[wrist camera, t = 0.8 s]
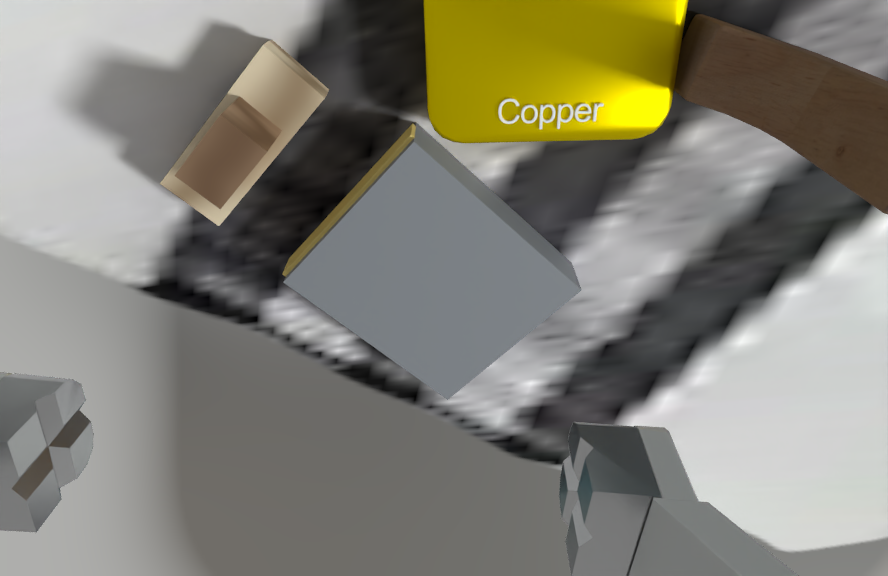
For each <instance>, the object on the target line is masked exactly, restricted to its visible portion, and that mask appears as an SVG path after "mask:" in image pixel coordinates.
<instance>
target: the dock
mask: <svg viewBox="0 0 888 576" xmlns="http://www.w3.org/2000/svg"><path fill="white" fill-rule="evenodd" d="M282 275H284V276H285V279H284V281H283V283H285V284H286V285H288V286H289V287H290V288H292V289H293V290H295V291H296V292H297V293H299V294H300V295H302V296H303V297H304V298H306V299H307V300H309V301H310V302H311V303H313V304H314V305H316V306H317V307H318V308H320V309H321V310H323V311H324V312H325V313H327V314H328V315H330V316H331V317H332V318H334V319H335V320H337V321H338V322H339V323H341V324H342V325H344V326H345V327H346V328H348V329H349V330H351V331H352V332H353V333H355V334H356V335H358V336H359V337H360V338H362V339H363V340H365V341H366V342H367V343H369V344H370V345H372V346H373V347H374V348H376V349H377V350H379V351H380V352H381V353H383V354H384V355H386V356H387V357H388V358H390V359H391V360H393V361H394V362H395V363H397V364H398V365H400V366H401V367H402V368H404V369H405V370H407V371H408V372H410V373H411V374H412V375H414V376H415V377H417V378H418V379H419V380H421V381H422V382H424V383H425V384H426V385H428V386H429V387H431V388H432V389H433V390H435V391H436V392H438V393H439V394H440V395H442V396H443V397H445V398H446V399H447V400H448V399H449V398H450V397H452V396H453V395H454V394H455V393H456V392H458V391H459V390H460V389H461V388H463V387H464V386H465V385H466V384H467V383H469V382H470V381H471V380H472V379H474V378H475V377H476V376H477V375H478V374H480V373H481V372H482V371H483V370H485V369H486V368H487V367H488V366H489V365H491V364H492V363H493V362H494V361H496V360H497V359H498V358H499V357H500V356H502V355H503V354H504V353H505V352H507V351H508V350H509V349H510V348H511V347H513V346H514V345H515V344H516V343H518V342H519V341H520V340H521V339H522V338H524V337H525V336H526V335H527V334H529V333H530V332H531V331H532V330H533V329H535V328H536V327H537V326H538V325H540V324H541V323H542V322H543V321H544V320H546V319H547V318H548V317H549V316H551V315H552V314H553V313H554V312H555V311H557V310H558V309H559V308H560V307H562V306H563V305H564V304H565V303H567V302H568V301H569V300H570V299H571V298H573V297H574V296H575V295H576V294H578V293H579V292H580V291H581V287H580V285H579V282H578V279H577V276H576V273H575V271H574V268H573V265H572V263H571V262H570V261H569V260H568V259H567V258H566V257H564V256H563V255H562V254H561V253H560V252H559V251H558V250H557V249H556V248H554V247H553V246H552V245H551V244H550V243H549V242H548V241H547V240H546V239H545V238H543V237H542V236H541V235H540V234H539V233H538V232H537V231H536V230H535V229H533V228H532V227H531V226H530V225H529V224H528V223H527V222H526V221H525V220H524V219H522V218H521V217H520V216H519V215H518V214H517V213H516V212H515V211H514V210H512V209H511V208H510V207H509V206H508V205H507V204H506V203H505V202H504V201H502V200H501V199H500V198H499V197H498V196H497V195H496V194H495V193H494V192H493V191H491V190H490V189H489V188H488V187H487V186H486V185H485V184H484V183H483V182H481V181H480V180H479V179H478V178H477V177H476V176H475V175H474V174H473V173H471V172H470V171H469V170H468V169H467V168H466V167H465V166H464V165H463V164H462V163H460V162H459V161H458V160H457V159H456V158H455V157H454V156H453V155H452V154H450V153H449V152H448V151H447V150H446V149H445V148H444V147H443V146H442V145H440V144H439V143H438V142H437V141H436V140H435V139H434V138H433V137H432V136H431V135H429V134H428V133H427V132H426V131H425V130H424V129H423V128H422V127H421V126H419V125H418V124H417V123H416V124H415V125H414V124H413V123H412V124H411V126H410V127H409V128H408V129H407V130H406V131H405V132H404V133H403V134H402V135H401V136H400V138H399V139H398V140H397V141H396V142H395V143H394V144H393V145H392V146H391V147H390V148H389V150H388V151H387V152H386V153H385V154H384V155H383V156H382V157H381V158H380V159H379V161H378V162H377V163H376V164H375V165H374V166H373V167H372V168H371V169H370V170H369V171H368V173H367V174H366V175H365V176H364V177H363V178H362V179H361V180H360V181H359V182H358V183H357V185H356V186H355V187H354V188H353V189H352V190H351V191H350V192H349V193H348V194H347V196H346V197H345V198H344V199H343V200H342V201H341V202H340V203H339V204H338V205H337V206H336V208H335V209H334V210H333V211H332V212H331V213H330V214H329V215H328V216H327V217H326V218H325V220H324V221H323V222H322V223H321V224H320V225H319V226H318V227H317V228H316V229H315V230H314V232H313V233H312V234H311V235H310V236H309V237H308V238H307V239H306V240H305V241H304V243H303V244H302V245H301V246H300V247H299V248H298V249H297V250H296V251H295V252H294V253H293V255H292V256H291V257H290V258H289V260H288V262H287V264H286V266H285V269H284V271H283V273H282Z"/></svg>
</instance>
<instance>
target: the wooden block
mask: <svg viewBox="0 0 888 576" xmlns="http://www.w3.org/2000/svg"><path fill="white" fill-rule="evenodd" d="M674 90H675V91H676V92H677V93H678V94H680V95H681V96H682V97H683V98H685V99H686V100H687V101H690V102H693V103H696V104H698V105H701V106H704V107H707V108H710V109H713V110H716V111H719V112H722V113H724V114H727V115H729V116H732V117H734V118H736V119H738V120H741V121H743V122H745V123H747V124H750V125H752V126H754V127H756V128H759V129H761V130H762V131H764V132H766V133H768V134H769V135H771V136H773V137H775V138H776V139H778V140H780V141H782V142H783V143H785V144H786V145H787V146H789V147H790V148H792V149H793V150H795V151H796V152H797V153H799V154H800V155H802V156H803V157H805V158H806V159H807V160H809V161H810V162H812V163H813V164H815V165H816V166H817V167H819V168H820V169H822V170H823V171H824V172H826V173H827V174H829V175H830V176H832V177H833V178H834V179H836V180H837V181H839V182H840V183H842V184H843V185H844V186H846V187H847V188H849V189H850V190H852V191H853V192H854V193H856V194H857V195H859V196H860V197H862V198H863V199H864V200H866V201H867V202H869V203H870V204H871V205H873V206H874V207H876V208H877V209H879V210H880V211H881V212H883V213H885V214H888V81H885V80H883V79H880V78H878V77H875V76H873V75H870V74H868V73H865V72H863V71H860V70H858V69H855V68H853V67H850V66H848V65H845V64H843V63H840V62H838V61H835V60H833V59H830V58H828V57H825V56H823V55H820V54H818V53H815V52H812V51H809V50H806V49H803V48H800V47H797V46H794V45H791V44H788V43H785V42H782V41H779V40H776V39H774V38H771V37H768V36H765V35H762V34H759V33H756V32H753V31H750V30H747V29H744V28H741V27H738V26H735V25H732V24H729V23H726V22H724V21H721V20H718V19H715V18H712V17H709V16H706V15H703V14H698V15H695V17H694V18H693V19H692V21H691V23H690V26H689V28H688V30H687V32H686V34H685V36H684V39H683V41H682V43H681V47H680V54H679V60H678V66H677V72H676V79H675V85H674Z"/></svg>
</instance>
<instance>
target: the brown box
mask: <svg viewBox="0 0 888 576" xmlns="http://www.w3.org/2000/svg"><path fill="white" fill-rule="evenodd" d="M281 132H282V130H281V129H279V128H278V127H277V126H276V125H274V124H273V123H272V122H271V121H269V120H268V119H267V118H266V117H265V116H263V115H262V114H261V113H260V112H258V111H257V110H256V109H255V108H254V107H252V106H251V105H250V104H249V103H247V102H246V101H245V100H244V99H243V98H241V97H240V96H239V97H238V98H237V99H236V100H235V101H234V102H233V103H232V104H231V105H230V106H229V107H228V108H227V109H226V110H225V111H224V112H223V113H221V114H220V116H219V117H218V118H217V120H216V121H215V122H214V124H213V125H212V126H211V128H210V129H209V130H208V132H207V133H206V134H205V136H204V137H203V138H202V140H201V141H200V142H199V144H198V145H197V146H196V148H195V149H194V150H193V152H192V153H191V154H190V156H189V157H188V158H187V160H186V161H185V162H184V164H183V165H182V166H181V168H180V169H179V170H178V172H177V173H176V174H175V177H177V178H178V179H179V180H181V181H182V182H183V183H185V184H186V185H188V186H189V187H190V188H192V189H193V190H194V191H196V192H197V193H198V194H200V195H201V196H203V197H204V198H205V199H207V200H208V201H209V202H211V203H212V204H214V205H215V206H216V207H218V208H219V209H221V208H222V207H223V206H224V204H225V203H226V202H227V201H228V199H229V198H230V197H231V196H232V195H233V193H234V192H235V191H236V190H237V188H238V187H239V186H240V185H241V184H242V182H243V181H244V180H245V179H246V177H247V176H248V175H249V174H250V172H251V171H252V170H253V169H254V168H255V166H256V165H257V164H258V163H259V161H260V160H261V159H262V158H263V156H264V155H265V154H266V153H267V152H268V150H269V149H270V147H271V146H272V144H273V143H274V142H275V140H276V139H277V137H278V136H279V135H280V133H281Z"/></svg>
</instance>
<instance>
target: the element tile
mask: <svg viewBox="0 0 888 576" xmlns="http://www.w3.org/2000/svg"><path fill="white" fill-rule="evenodd" d="M687 4H688V0H423V7H424V34H425V60H426V86H427V110H428V115H429V119H430V122H431V124H432V126H433V128H434V130H435V131H436V132H437V133H438V134H439V135H440V136H442V137H443V138H445V139H448V140H450V141H453V142H459V143H489V142H531V141H573V140H615V139H635V138H641V137H644V136H646V135H648V134H651V133H653V132H654V131H655V130H656V129H658V128H659V127H660V126H661V125H662V124H663V122H664V120H665V119H666V117H667V115H668V113H669V110H670V107H671V103H672V97H673V91H674V85H675V79H676V72H677V66H678V60H679V54H680V47H681V41H682V35H683V29H684V23H685V16H686V10H687Z"/></svg>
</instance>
